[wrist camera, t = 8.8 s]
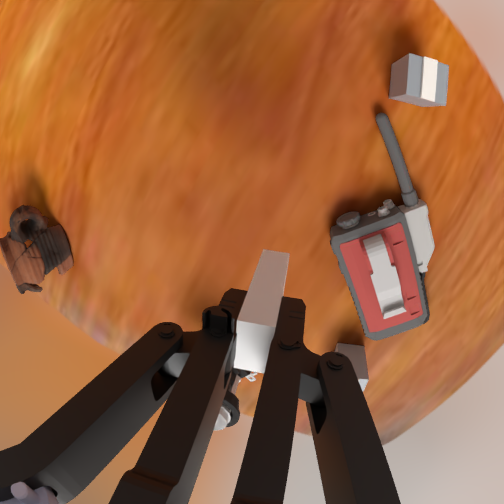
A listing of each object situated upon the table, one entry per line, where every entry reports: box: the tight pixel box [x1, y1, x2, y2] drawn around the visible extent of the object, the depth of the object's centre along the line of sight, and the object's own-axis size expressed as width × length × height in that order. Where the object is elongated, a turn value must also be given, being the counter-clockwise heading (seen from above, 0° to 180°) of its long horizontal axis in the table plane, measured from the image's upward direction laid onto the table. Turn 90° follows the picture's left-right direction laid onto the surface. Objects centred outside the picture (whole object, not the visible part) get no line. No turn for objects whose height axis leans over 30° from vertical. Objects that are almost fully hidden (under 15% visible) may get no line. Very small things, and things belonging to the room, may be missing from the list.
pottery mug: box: [0, 205, 73, 294], centre depth 31 cm, size 12×10×8 cm
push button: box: [214, 363, 257, 430], centre depth 30 cm, size 7×5×10 cm
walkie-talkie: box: [330, 113, 435, 340], centre depth 24 cm, size 9×4×20 cm
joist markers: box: [334, 53, 449, 391], centre depth 24 cm, size 30×3×5 cm, turn 175°
